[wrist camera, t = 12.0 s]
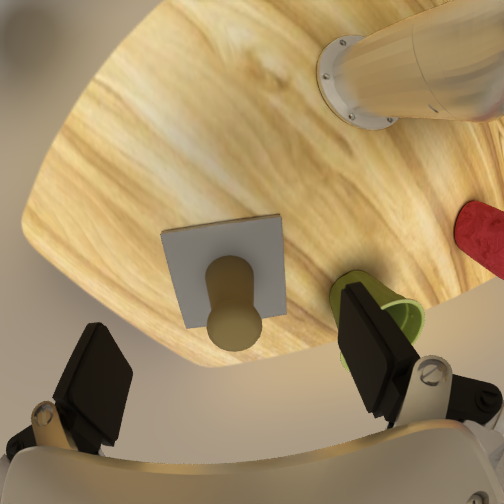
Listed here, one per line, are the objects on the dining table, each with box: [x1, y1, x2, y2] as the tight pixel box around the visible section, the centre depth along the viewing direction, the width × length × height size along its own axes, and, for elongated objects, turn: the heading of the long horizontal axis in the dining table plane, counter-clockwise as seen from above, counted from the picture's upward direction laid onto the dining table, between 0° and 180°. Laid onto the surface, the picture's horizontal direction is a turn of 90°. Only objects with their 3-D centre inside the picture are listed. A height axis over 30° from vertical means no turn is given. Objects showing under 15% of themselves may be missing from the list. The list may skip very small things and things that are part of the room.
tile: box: [160, 214, 287, 329], centre depth 34 cm, size 14×14×1 cm
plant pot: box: [329, 271, 425, 372], centre depth 33 cm, size 12×12×11 cm
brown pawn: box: [205, 255, 262, 352], centre depth 28 cm, size 6×6×11 cm
